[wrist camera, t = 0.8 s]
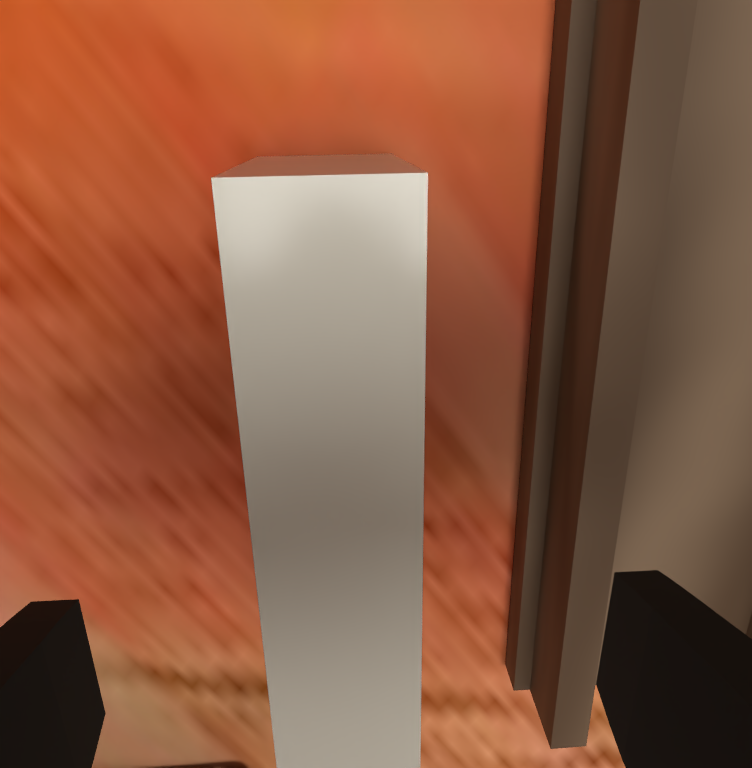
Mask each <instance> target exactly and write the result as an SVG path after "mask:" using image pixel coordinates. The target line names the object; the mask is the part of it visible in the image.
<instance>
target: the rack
mask: <svg viewBox="0 0 752 768" xmlns="http://www.w3.org/2000/svg"><path fill="white" fill-rule="evenodd" d="M648 570H658V571H660V572H661V573H663V574H664V575H666V576H667V577H669V578H670V579H672V580H673V581H674V582H676V583H677V584H678V585H680V586H681V587H683V588H684V589H685V590H687V591H688V592H689V593H691V594H692V595H694V596H695V597H696V598H698V599H699V600H700V601H702V602H703V603H704V604H706V605H707V606H708V607H710V608H711V609H712V610H714V611H715V612H716V613H718V614H719V615H720V616H722V617H723V618H724V619H726V620H727V621H728V622H730V623H731V624H732V625H734V626H735V627H736V628H738V629H739V630H740V631H742V632H743V633H744V634H746V635H747V636H748V637H750V638H751V639H752V0H556V6H555V19H554V33H553V46H552V59H551V72H550V85H549V98H548V112H547V125H546V138H545V151H544V164H543V178H542V191H541V204H540V217H539V230H538V243H537V257H536V270H535V283H534V296H533V309H532V322H531V336H530V349H529V362H528V375H527V388H526V401H525V415H524V428H523V441H522V454H521V467H520V480H519V494H518V507H517V520H516V533H515V546H514V560H513V573H512V586H511V599H510V612H509V625H508V639H507V652H506V668H507V671H508V674H509V677H510V680H511V683H512V687H513V690H529V689H530V691H531V694H532V697H533V700H534V703H535V705H536V708H537V711H538V714H539V717H540V720H541V723H542V725H543V728H544V731H545V734H546V737H547V740H548V743H549V745H550V748H551V749H554V748H568V747H581V746H586V743H587V737H588V730H589V723H590V716H591V710H592V703H593V696H594V690H595V685H596V681H597V675H598V669H599V663H600V657H601V651H602V645H603V639H604V633H605V627H606V621H607V615H608V609H609V602H610V596H611V590H612V584H613V578H614V572H629V571H648Z"/></svg>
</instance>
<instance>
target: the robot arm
mask: <svg viewBox="0 0 752 768" xmlns="http://www.w3.org/2000/svg"><path fill="white" fill-rule="evenodd" d="M596 685H597V688H598V691H599V694H600V697H601V700H602V703H603V706H604V709H605V712H606V715H607V718H608V721H609V724H610V727H611V730H612V732H613V735H614V738H615V741H616V743H617V746H618V749H619V752H620V755H621V757H622V760H623V762H624V764H625V767H626V768H752V639H751V638H750V637H748V636H747V635H746V634H744V633H743V632H742V631H740V630H739V629H738V628H736V627H735V626H734V625H732V624H731V623H730V622H728V621H727V620H726V619H724V618H723V617H722V616H720V615H719V614H718V613H716V612H715V611H714V610H712V609H711V608H710V607H708V606H707V605H706V604H704V603H703V602H702V601H700V600H699V599H698V598H696V597H695V596H694V595H692V594H691V593H689V592H688V591H687V590H685V589H684V588H683V587H681V586H680V585H678V584H677V583H676V582H674V581H673V580H672V579H670V578H669V577H667V576H666V575H664V574H663V573H661V572H660V571H658V570H648V571H629V572H614V578H613V584H612V590H611V596H610V602H609V609H608V615H607V621H606V627H605V633H604V639H603V645H602V651H601V657H600V663H599V669H598V675H597V681H596ZM104 717H105V710H104V705H103V701H102V697H101V693H100V688H99V684H98V680H97V676H96V671H95V667H94V663H93V659H92V654H91V650H90V646H89V641H88V637H87V633H86V629H85V624H84V620H83V616H82V612H81V607H80V603H79V599H77V600H57V601H37V602H30V603H29V604H28V605H27V606H25V607H24V608H23V609H22V610H21V611H19V612H18V613H17V614H16V615H14V616H13V617H12V618H11V619H10V620H9V621H7V622H6V623H5V624H4V625H3V626H2V627H0V768H91V767H92V764H93V760H94V756H95V752H96V748H97V744H98V740H99V737H100V733H101V729H102V725H103V721H104Z"/></svg>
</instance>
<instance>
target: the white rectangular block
mask: <svg viewBox="0 0 752 768" xmlns="http://www.w3.org/2000/svg"><path fill="white" fill-rule="evenodd" d="M211 181H212V190H213V199H214V208H215V217H216V226H217V235H218V244H219V253H220V262H221V271H222V280H223V289H224V298H225V307H226V316H227V325H228V334H229V343H230V352H231V361H232V370H233V379H234V388H235V397H236V406H237V415H238V424H239V433H240V442H241V451H242V460H243V469H244V478H245V487H246V496H247V505H248V514H249V523H250V532H251V541H252V550H253V559H254V568H255V577H256V586H257V595H258V604H259V613H260V622H261V631H262V639H263V648H264V657H265V666H266V675H267V684H268V693H269V702H270V711H271V720H272V729H273V738H274V747H275V756H276V765H277V768H420V748H421V671H422V594H423V517H424V440H425V363H426V286H427V209H428V172H426V171H424V170H422V169H420V168H418V167H416V166H414V165H413V164H411V163H409V162H407V161H405V160H403V159H401V158H399V157H397V156H396V155H394V154H392V153H389V154H343V155H297V156H257V157H255V158H253V159H251V160H248V161H246V162H244V163H242V164H240V165H238V166H236V167H233V168H231V169H229V170H227V171H225V172H223V173H220V174H218V175H216V176H214V177H212V178H211Z"/></svg>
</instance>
